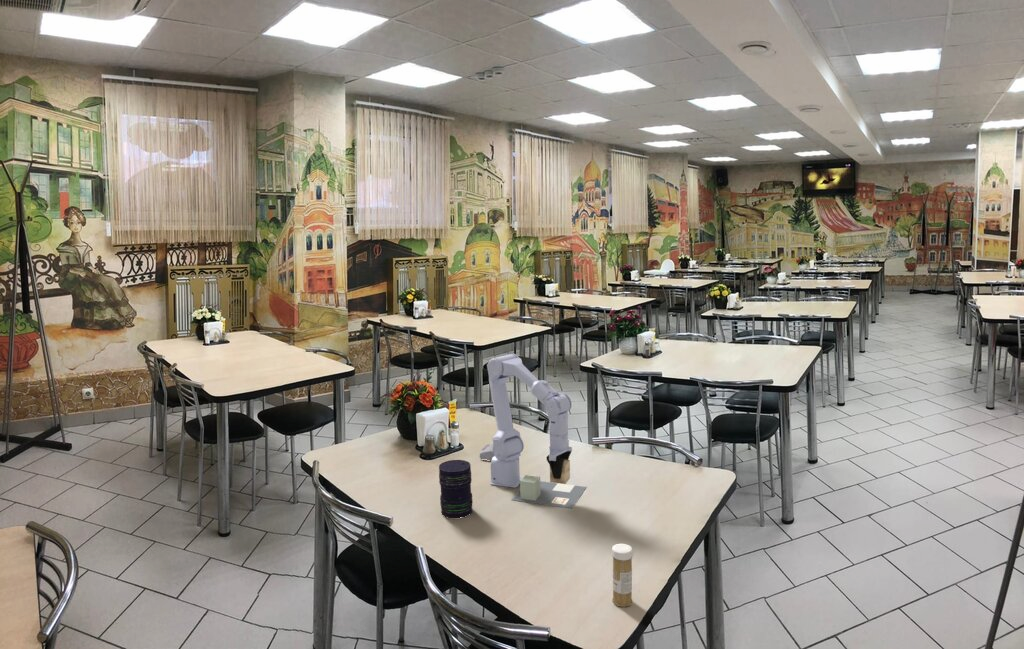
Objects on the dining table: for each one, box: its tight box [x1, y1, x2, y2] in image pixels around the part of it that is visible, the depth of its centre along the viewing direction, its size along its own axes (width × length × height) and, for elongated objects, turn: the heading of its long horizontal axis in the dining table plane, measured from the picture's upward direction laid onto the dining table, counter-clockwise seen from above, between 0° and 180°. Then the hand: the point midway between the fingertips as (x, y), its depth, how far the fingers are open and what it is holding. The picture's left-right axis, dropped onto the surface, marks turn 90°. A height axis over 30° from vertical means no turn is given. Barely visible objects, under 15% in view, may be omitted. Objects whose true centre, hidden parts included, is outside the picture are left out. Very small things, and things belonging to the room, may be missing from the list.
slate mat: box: [511, 480, 587, 509], centre depth 208 cm, size 20×17×1 cm
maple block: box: [549, 459, 571, 484], centre depth 201 cm, size 5×5×6 cm
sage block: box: [519, 475, 541, 501], centre depth 206 cm, size 5×5×6 cm
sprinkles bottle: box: [611, 543, 633, 608], centre depth 146 cm, size 5×5×14 cm
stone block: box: [479, 443, 495, 460], centre depth 245 cm, size 12×5×10 cm
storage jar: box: [438, 459, 474, 519], centre depth 196 cm, size 10×10×15 cm
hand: (559, 474), depth 201 cm, fingers closed on maple block, 5 cm apart
